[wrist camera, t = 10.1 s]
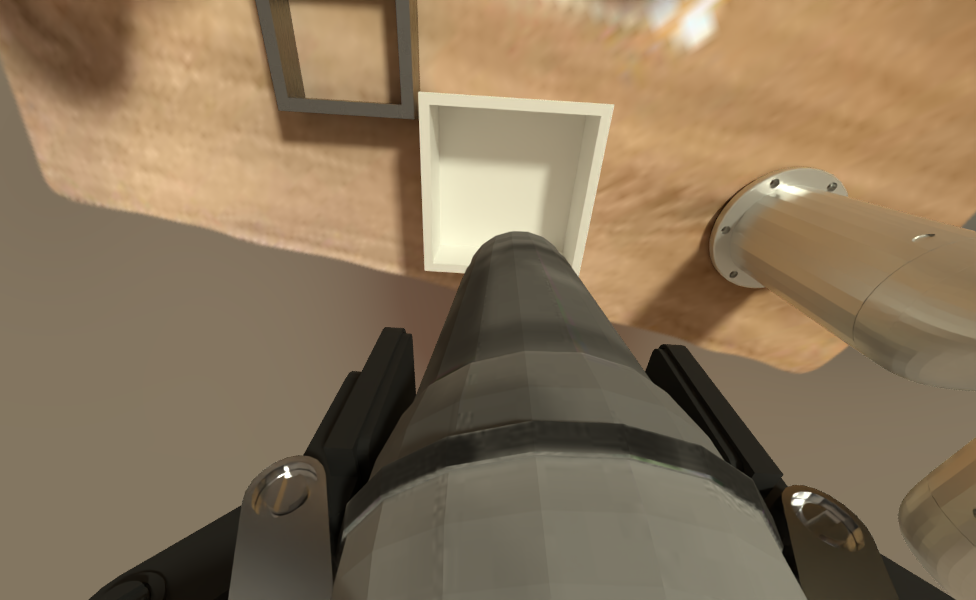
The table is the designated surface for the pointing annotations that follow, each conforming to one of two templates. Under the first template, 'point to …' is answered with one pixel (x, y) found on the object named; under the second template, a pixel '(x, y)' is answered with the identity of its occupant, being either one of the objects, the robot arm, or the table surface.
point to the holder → (292, 98)
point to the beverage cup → (550, 465)
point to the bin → (507, 173)
